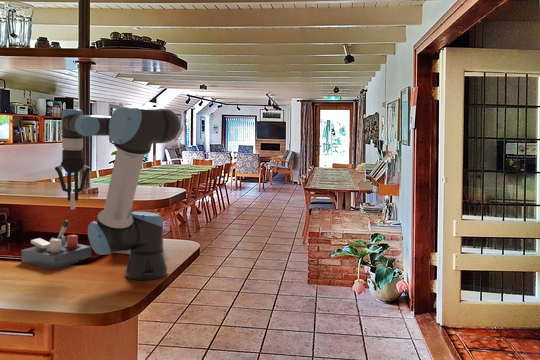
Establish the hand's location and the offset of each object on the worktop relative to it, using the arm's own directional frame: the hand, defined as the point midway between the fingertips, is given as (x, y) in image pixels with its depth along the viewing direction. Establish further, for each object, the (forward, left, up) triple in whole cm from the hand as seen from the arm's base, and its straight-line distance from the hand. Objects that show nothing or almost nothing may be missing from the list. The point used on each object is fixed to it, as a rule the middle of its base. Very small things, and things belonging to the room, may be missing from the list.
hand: (73, 208), depth 185 cm
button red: (+2, -1, -17) cm, 17 cm away
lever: (+10, -1, -15) cm, 18 cm away
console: (+6, +3, -21) cm, 22 cm away
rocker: (+10, +7, -14) cm, 18 cm away
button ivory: (+2, +7, -17) cm, 18 cm away
